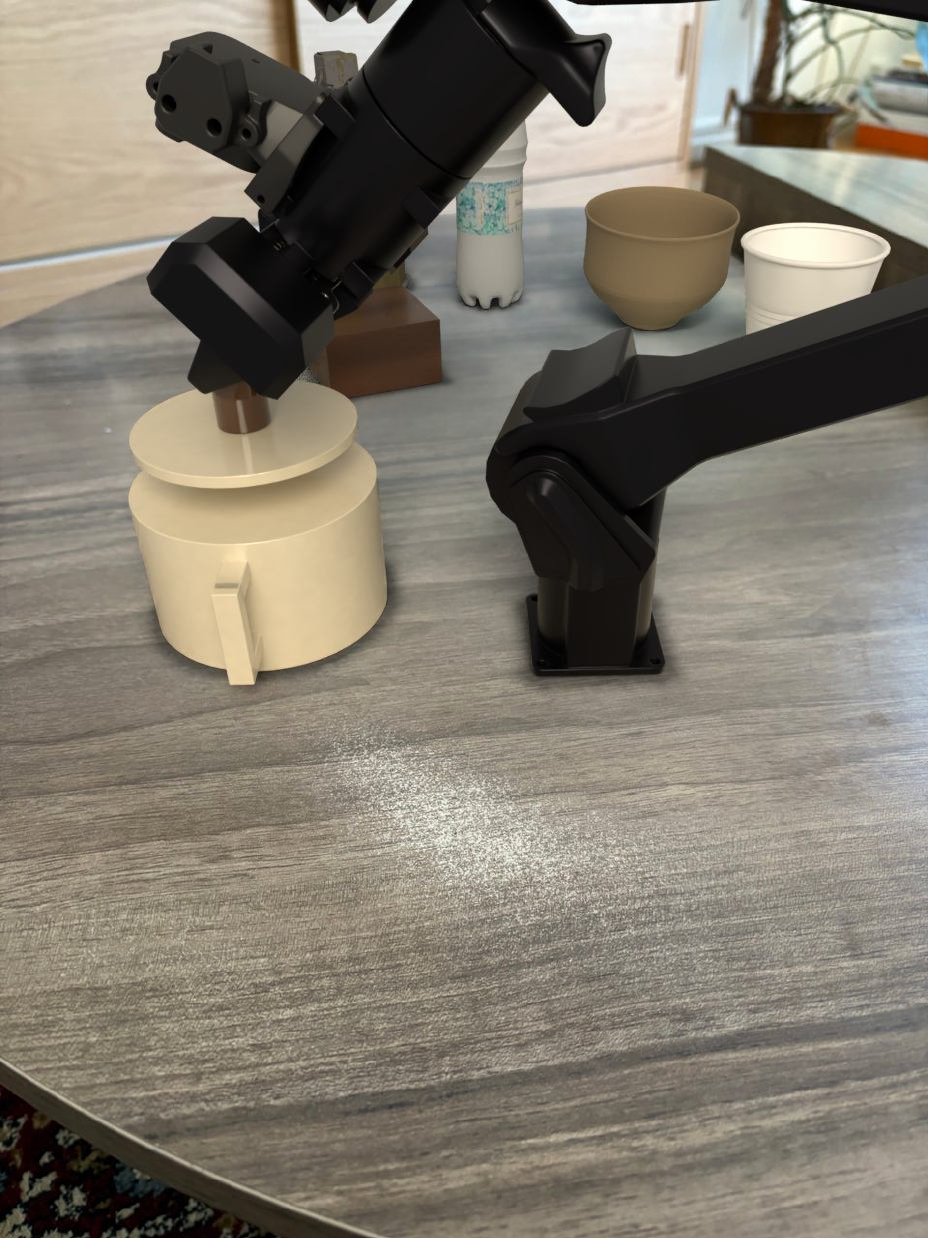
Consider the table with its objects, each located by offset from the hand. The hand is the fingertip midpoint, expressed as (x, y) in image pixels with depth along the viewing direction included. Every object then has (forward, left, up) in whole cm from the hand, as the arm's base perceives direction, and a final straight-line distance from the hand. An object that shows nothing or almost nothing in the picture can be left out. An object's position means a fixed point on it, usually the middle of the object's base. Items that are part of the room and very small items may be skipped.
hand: (210, 373), depth 47 cm
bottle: (+48, -14, -13) cm, 51 cm away
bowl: (+41, -28, -13) cm, 51 cm away
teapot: (0, -1, -13) cm, 13 cm away
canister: (+53, -1, -13) cm, 54 cm away
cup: (+26, -36, -13) cm, 46 cm away
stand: (+32, -4, -13) cm, 34 cm away
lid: (0, -1, -3) cm, 3 cm away
